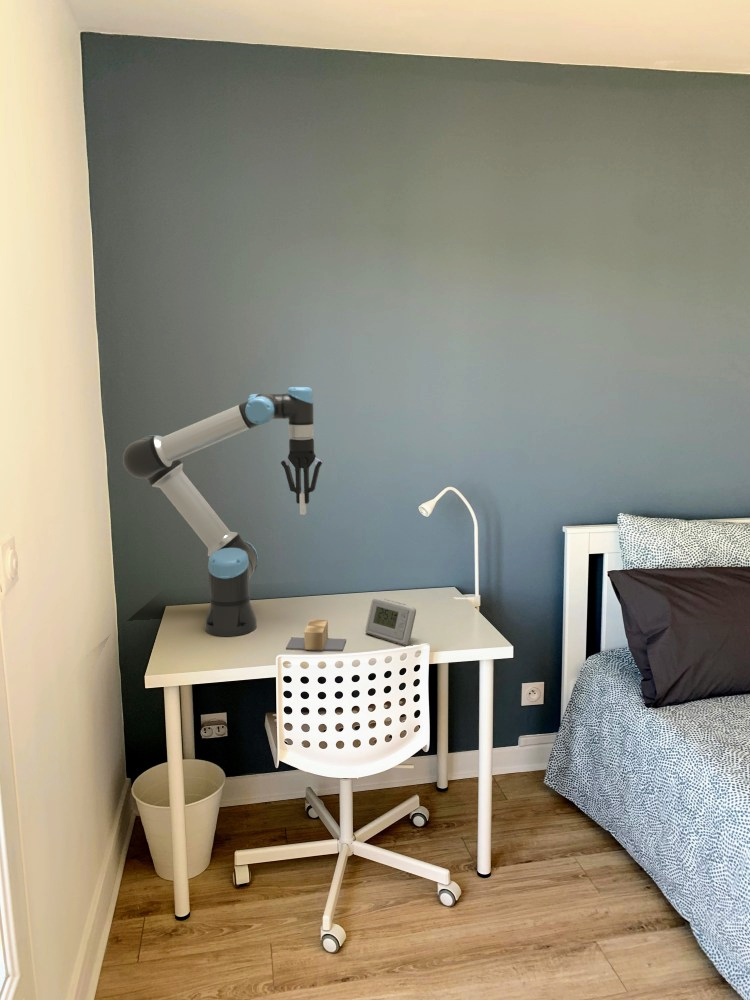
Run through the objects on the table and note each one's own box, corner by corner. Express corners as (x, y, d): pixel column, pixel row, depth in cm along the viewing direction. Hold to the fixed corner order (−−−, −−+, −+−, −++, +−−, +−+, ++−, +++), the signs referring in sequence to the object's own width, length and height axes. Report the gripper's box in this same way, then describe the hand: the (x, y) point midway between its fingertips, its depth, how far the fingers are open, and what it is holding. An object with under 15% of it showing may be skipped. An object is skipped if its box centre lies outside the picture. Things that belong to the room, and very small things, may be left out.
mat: (285, 649, 216) (285, 647, 216) (291, 638, 224) (291, 637, 224) (342, 651, 215) (342, 649, 215) (346, 640, 223) (346, 638, 223)
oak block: (310, 636, 225) (304, 649, 215) (310, 619, 224) (304, 632, 214) (327, 636, 224) (322, 649, 215) (327, 620, 224) (322, 632, 214)
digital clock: (362, 633, 229) (362, 599, 226) (386, 626, 234) (386, 593, 232) (397, 649, 216) (397, 613, 214) (421, 642, 221) (421, 607, 219)
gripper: (324, 436, 238) (325, 511, 243) (282, 436, 240) (285, 510, 244) (320, 439, 231) (321, 516, 236) (277, 439, 232) (280, 515, 237)
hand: (303, 513), depth 240 cm, fingers closed
